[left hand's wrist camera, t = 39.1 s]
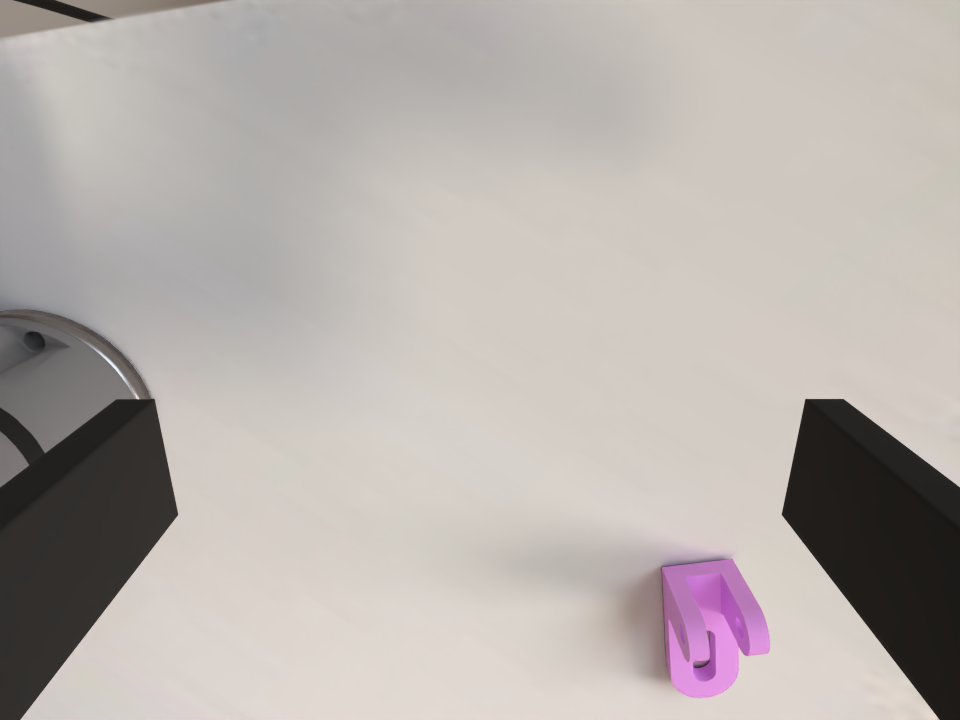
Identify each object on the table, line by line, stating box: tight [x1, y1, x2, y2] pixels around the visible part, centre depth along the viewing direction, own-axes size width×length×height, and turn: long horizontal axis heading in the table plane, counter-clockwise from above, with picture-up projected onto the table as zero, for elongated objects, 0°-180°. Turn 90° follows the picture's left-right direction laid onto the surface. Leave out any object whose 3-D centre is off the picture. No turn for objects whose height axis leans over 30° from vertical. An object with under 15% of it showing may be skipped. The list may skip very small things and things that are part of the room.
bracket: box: [662, 559, 770, 698], centre depth 48 cm, size 13×6×7 cm, turn 8°
